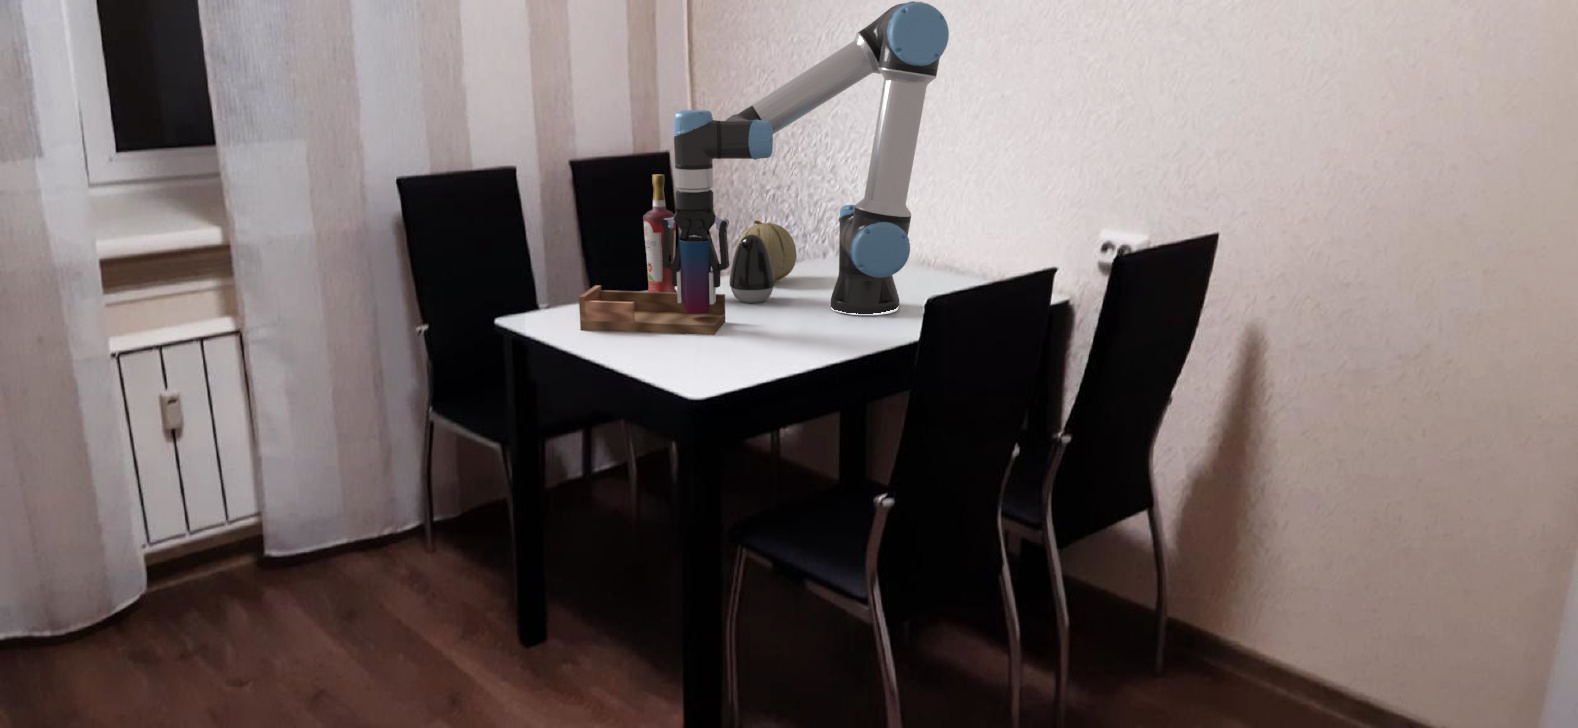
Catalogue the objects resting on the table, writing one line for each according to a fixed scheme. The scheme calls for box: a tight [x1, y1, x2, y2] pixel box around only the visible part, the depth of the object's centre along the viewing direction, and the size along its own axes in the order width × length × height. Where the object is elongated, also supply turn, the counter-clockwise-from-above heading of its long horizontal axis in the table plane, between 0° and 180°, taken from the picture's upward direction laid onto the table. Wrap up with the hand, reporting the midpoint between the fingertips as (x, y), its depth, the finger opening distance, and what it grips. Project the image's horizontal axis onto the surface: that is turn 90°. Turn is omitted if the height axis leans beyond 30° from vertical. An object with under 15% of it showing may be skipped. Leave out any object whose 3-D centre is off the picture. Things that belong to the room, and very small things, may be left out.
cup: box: [678, 235, 713, 314], centre depth 235 cm, size 7×7×15 cm
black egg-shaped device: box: [729, 234, 775, 304], centre depth 260 cm, size 10×10×15 cm
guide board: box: [578, 284, 726, 336], centre depth 239 cm, size 28×11×7 cm, turn 82°
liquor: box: [642, 173, 677, 293], centre depth 261 cm, size 7×7×28 cm
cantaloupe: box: [736, 220, 798, 283], centre depth 279 cm, size 15×15×15 cm
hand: (696, 302), depth 237 cm, fingers closed on cup, 6 cm apart
